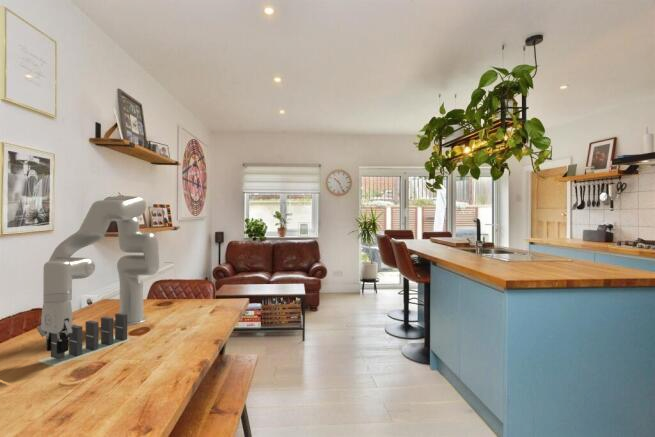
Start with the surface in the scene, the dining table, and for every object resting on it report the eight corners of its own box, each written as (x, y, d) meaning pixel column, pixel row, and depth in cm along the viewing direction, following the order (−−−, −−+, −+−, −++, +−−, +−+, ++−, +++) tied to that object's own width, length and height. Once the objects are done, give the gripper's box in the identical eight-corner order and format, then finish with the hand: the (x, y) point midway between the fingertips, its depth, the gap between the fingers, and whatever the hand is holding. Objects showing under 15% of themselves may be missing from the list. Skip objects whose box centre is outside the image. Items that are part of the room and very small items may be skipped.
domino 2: (77, 356, 115) (77, 327, 115) (68, 354, 117) (68, 326, 117) (82, 354, 117) (82, 326, 117) (73, 352, 119) (74, 324, 119)
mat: (37, 362, 112) (37, 360, 112) (116, 336, 136) (116, 335, 136) (54, 367, 108) (54, 366, 108) (132, 340, 132) (132, 338, 132)
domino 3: (93, 350, 120) (93, 323, 120) (85, 348, 122) (85, 321, 122) (98, 349, 122) (98, 322, 122) (90, 347, 124) (90, 320, 124)
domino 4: (109, 345, 125) (109, 319, 125) (100, 343, 127) (100, 317, 127) (113, 344, 127) (113, 318, 127) (105, 342, 129) (105, 316, 129)
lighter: (60, 343, 129) (60, 322, 129) (59, 344, 127) (59, 324, 127) (37, 346, 126) (37, 325, 126) (35, 347, 124) (36, 326, 124)
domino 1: (59, 359, 110) (59, 329, 110) (50, 357, 112) (50, 327, 112) (64, 357, 112) (65, 328, 112) (56, 355, 114) (56, 326, 114)
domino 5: (123, 340, 130) (123, 315, 130) (114, 338, 132) (115, 313, 132) (127, 339, 132) (127, 314, 132) (119, 337, 134) (119, 312, 134)
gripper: (30, 297, 112) (30, 350, 112) (59, 302, 105) (59, 359, 105) (56, 292, 119) (56, 343, 119) (85, 297, 112) (84, 351, 112)
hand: (57, 350), depth 112 cm, fingers closed on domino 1, 4 cm apart
